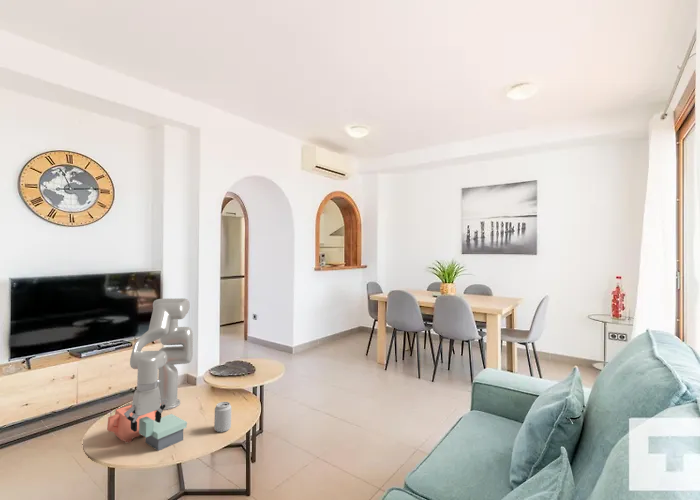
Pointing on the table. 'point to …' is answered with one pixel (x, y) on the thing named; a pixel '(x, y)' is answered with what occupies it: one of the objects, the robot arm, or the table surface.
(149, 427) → the mint green stepped block
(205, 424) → the table surface
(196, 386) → the table surface
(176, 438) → the tub
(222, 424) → the can
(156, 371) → the robot arm
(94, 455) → the table surface
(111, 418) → the teapot
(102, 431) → the table surface
